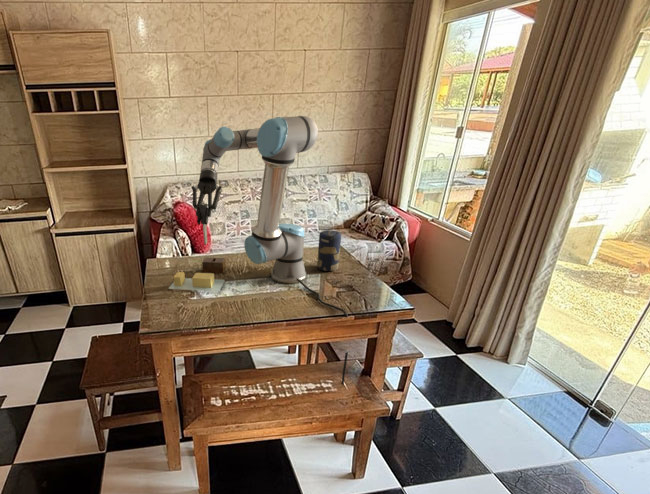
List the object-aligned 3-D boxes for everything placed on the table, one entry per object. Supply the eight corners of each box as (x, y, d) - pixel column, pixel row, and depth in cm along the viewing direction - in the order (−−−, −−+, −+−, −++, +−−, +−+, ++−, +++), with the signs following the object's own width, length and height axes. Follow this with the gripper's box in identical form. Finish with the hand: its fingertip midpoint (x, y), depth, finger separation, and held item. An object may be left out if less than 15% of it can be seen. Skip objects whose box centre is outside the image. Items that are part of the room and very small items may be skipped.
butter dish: (225, 282, 178) (224, 279, 177) (219, 293, 168) (218, 291, 167) (177, 279, 182) (176, 277, 182) (168, 290, 172) (168, 288, 171)
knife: (209, 242, 179) (206, 203, 171) (207, 245, 176) (205, 205, 168) (204, 242, 180) (201, 203, 171) (202, 244, 177) (199, 205, 168)
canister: (342, 268, 187) (346, 229, 178) (331, 274, 181) (335, 234, 172) (323, 263, 193) (327, 226, 184) (312, 269, 187) (315, 230, 178)
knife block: (225, 270, 190) (225, 258, 187) (223, 275, 185) (222, 262, 182) (206, 269, 192) (205, 257, 189) (203, 274, 187) (202, 261, 184)
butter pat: (185, 280, 178) (184, 272, 176) (181, 286, 173) (180, 277, 171) (178, 280, 179) (177, 271, 177) (174, 285, 174) (173, 277, 172)
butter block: (214, 282, 176) (213, 273, 174) (211, 287, 170) (210, 278, 168) (196, 281, 177) (195, 272, 175) (192, 286, 172) (192, 278, 170)
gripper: (227, 179, 178) (221, 227, 172) (193, 179, 181) (186, 227, 174) (224, 168, 171) (218, 218, 165) (189, 169, 173) (181, 218, 167)
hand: (202, 222), depth 170 cm, fingers closed on knife, 2 cm apart
